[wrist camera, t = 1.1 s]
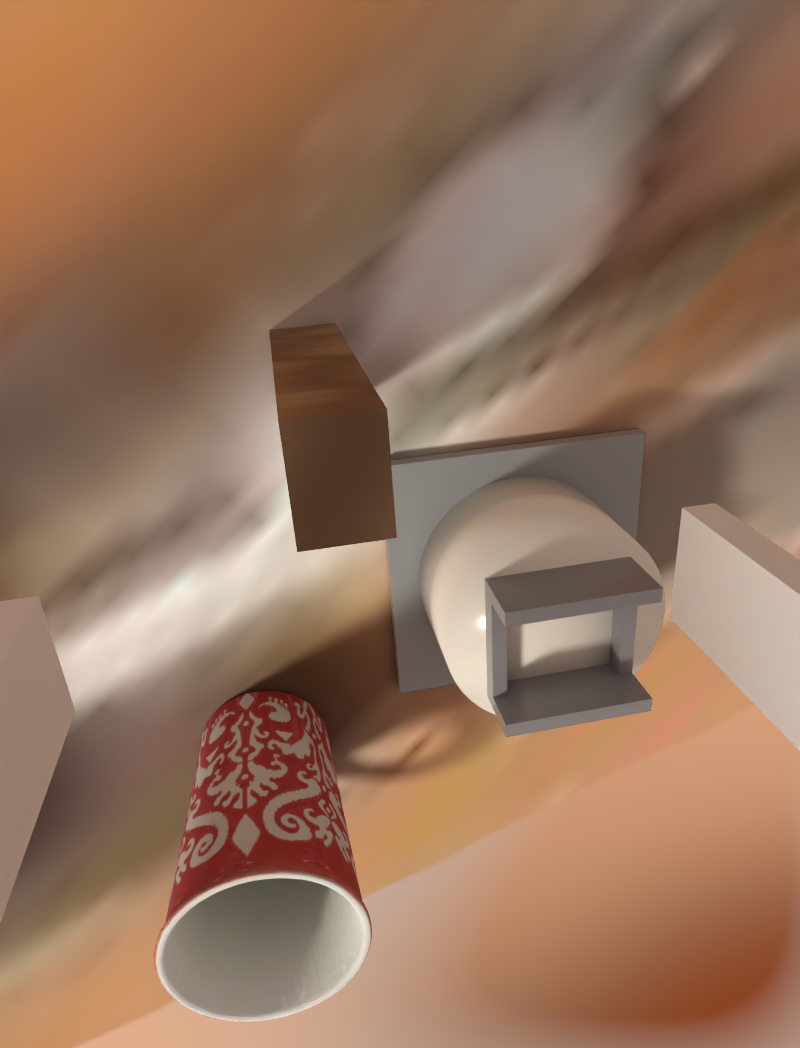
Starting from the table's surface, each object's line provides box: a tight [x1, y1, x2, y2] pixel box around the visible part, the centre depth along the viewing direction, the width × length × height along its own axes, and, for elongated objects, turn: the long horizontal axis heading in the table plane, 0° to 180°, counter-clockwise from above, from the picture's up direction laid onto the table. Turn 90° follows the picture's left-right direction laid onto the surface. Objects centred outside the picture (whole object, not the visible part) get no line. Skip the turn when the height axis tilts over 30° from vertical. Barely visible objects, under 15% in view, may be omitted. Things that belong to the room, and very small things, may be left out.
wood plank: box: [269, 324, 397, 552], centre depth 28 cm, size 3×4×15 cm
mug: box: [154, 691, 372, 1022], centre depth 37 cm, size 13×9×14 cm
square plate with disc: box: [385, 429, 665, 737], centre depth 36 cm, size 14×14×10 cm
